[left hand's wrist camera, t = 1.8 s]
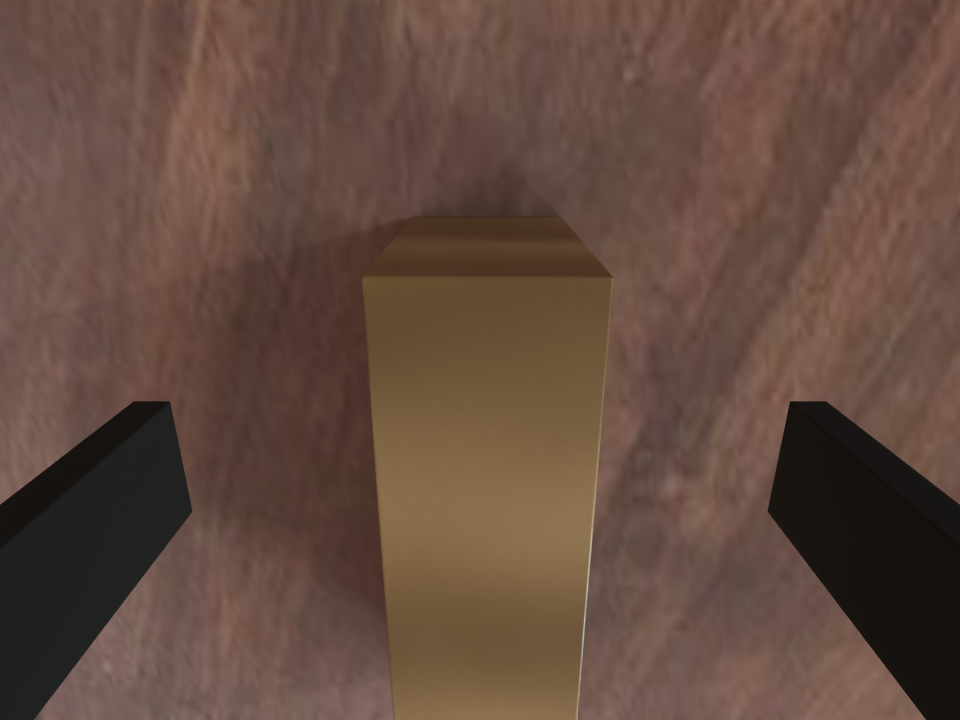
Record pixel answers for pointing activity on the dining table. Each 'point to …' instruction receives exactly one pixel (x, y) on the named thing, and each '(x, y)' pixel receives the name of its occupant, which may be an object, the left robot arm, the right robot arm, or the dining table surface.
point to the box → (486, 460)
